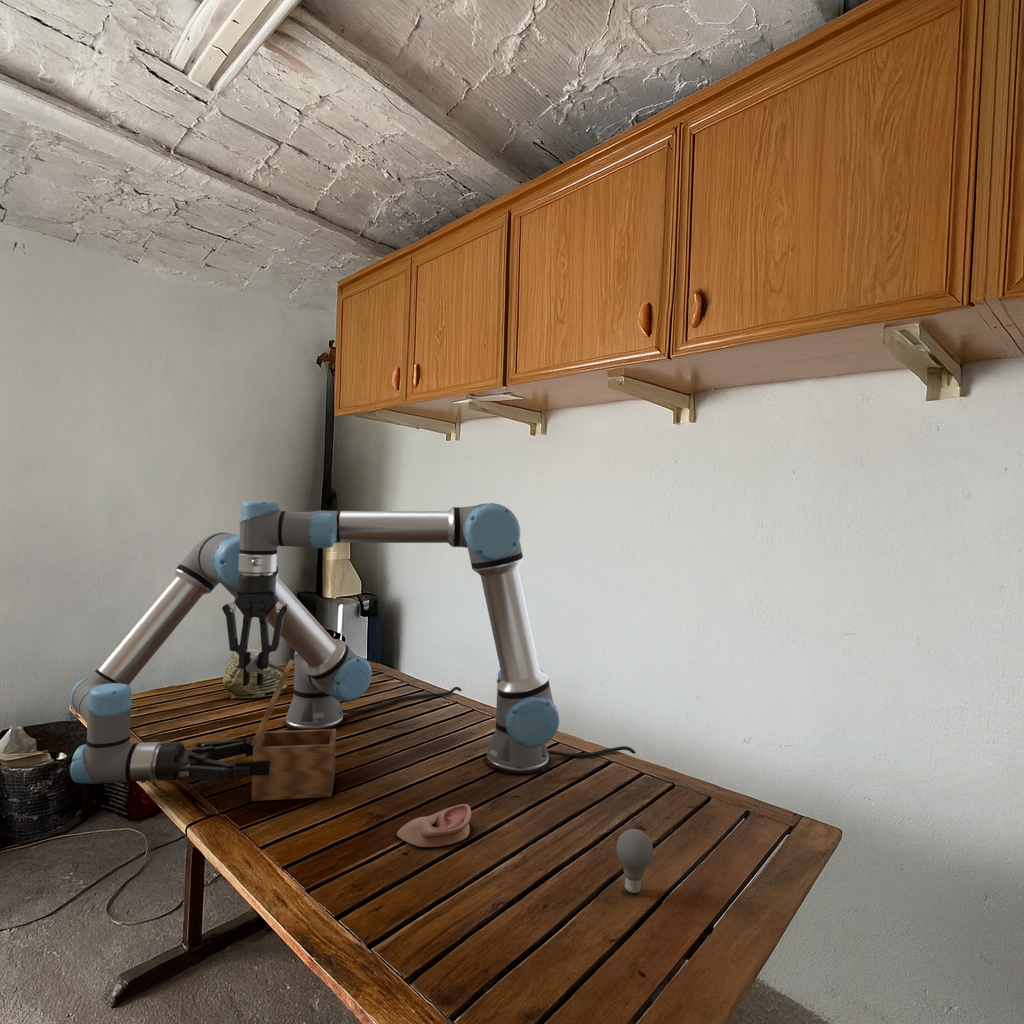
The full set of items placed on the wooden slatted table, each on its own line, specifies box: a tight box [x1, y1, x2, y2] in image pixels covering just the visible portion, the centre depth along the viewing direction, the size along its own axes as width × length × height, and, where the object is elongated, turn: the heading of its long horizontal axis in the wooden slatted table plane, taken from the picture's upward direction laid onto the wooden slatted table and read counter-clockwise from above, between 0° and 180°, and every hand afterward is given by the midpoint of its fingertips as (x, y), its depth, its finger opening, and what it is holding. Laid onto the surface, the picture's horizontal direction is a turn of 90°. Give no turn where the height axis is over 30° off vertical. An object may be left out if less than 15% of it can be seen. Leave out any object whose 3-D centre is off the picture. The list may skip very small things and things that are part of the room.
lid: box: [246, 656, 295, 746], centre depth 135 cm, size 16×10×8 cm
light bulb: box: [615, 828, 654, 894], centre depth 106 cm, size 6×6×10 cm
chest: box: [251, 728, 337, 802], centre depth 137 cm, size 16×10×11 cm, turn 102°
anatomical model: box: [396, 803, 472, 848], centre depth 121 cm, size 13×4×12 cm
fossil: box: [222, 647, 288, 699], centre depth 198 cm, size 9×18×15 cm, turn 132°
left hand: (273, 757), depth 136 cm, fingers closed on chest, 10 cm apart
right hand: (253, 683), depth 135 cm, fingers open, 2 cm apart
